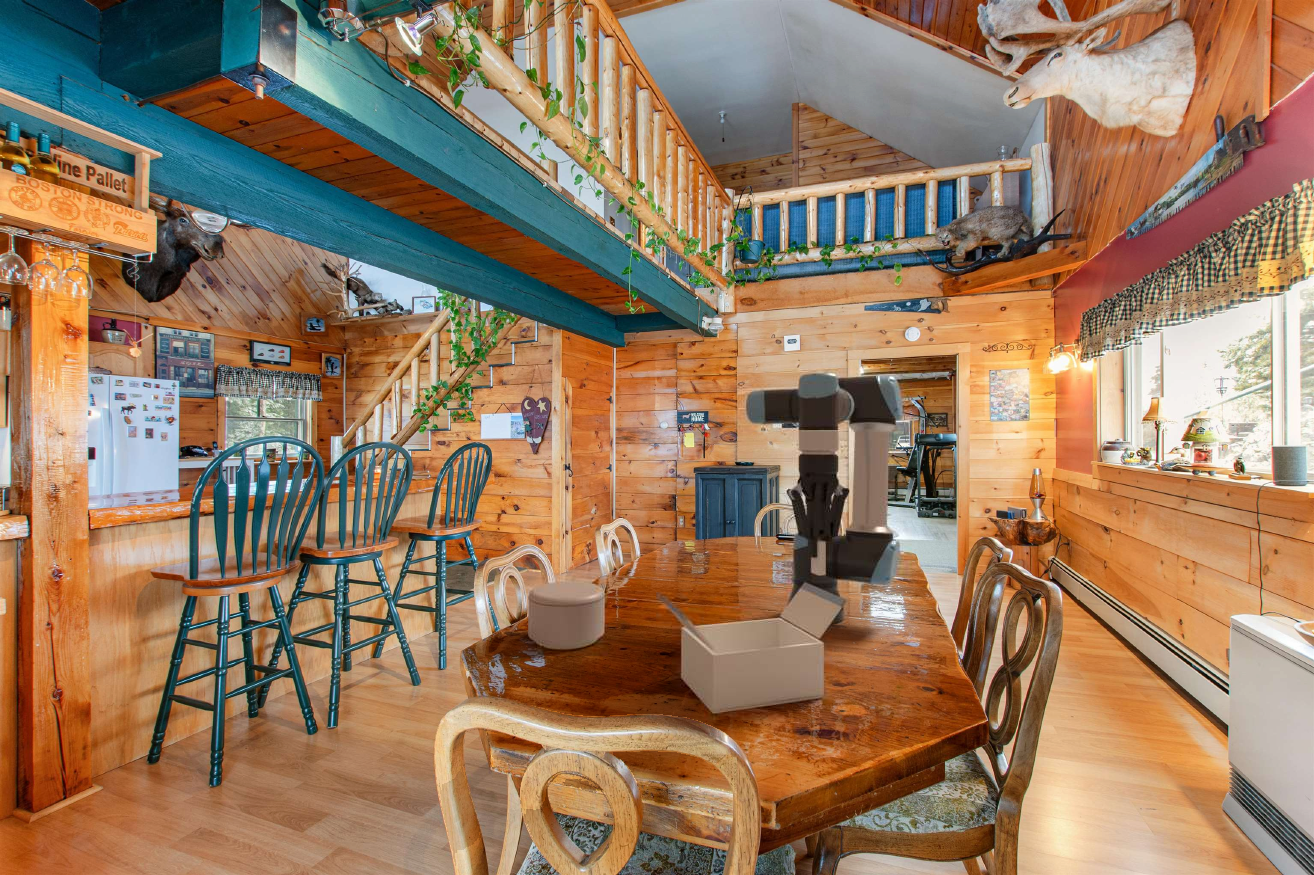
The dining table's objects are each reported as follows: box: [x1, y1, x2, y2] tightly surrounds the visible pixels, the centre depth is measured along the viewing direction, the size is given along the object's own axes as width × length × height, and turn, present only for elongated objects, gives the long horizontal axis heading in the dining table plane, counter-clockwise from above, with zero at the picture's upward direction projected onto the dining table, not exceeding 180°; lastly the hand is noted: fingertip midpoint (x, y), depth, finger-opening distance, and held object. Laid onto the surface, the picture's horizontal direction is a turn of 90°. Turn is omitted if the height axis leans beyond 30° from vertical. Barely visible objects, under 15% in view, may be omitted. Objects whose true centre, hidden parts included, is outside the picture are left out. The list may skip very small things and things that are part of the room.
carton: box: [680, 617, 825, 714], centre depth 113 cm, size 22×16×10 cm
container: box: [527, 580, 606, 650], centre depth 140 cm, size 18×18×12 cm
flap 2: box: [779, 582, 847, 640], centre depth 117 cm, size 9×14×1 cm
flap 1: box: [656, 593, 714, 650], centre depth 109 cm, size 9×14×1 cm
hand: (818, 573), depth 115 cm, fingers closed
